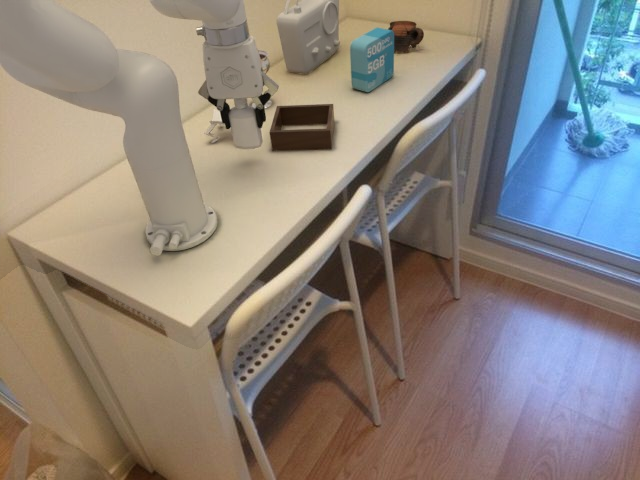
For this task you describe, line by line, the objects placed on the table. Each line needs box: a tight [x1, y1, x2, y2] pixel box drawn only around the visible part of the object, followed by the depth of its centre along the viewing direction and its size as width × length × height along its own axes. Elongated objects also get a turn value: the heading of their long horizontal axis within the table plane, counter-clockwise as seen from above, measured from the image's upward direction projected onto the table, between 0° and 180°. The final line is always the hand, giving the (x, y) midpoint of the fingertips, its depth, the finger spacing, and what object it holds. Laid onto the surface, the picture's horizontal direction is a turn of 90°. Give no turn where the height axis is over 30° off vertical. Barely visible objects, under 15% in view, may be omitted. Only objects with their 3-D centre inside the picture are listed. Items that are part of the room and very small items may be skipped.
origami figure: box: [203, 108, 225, 143], centre depth 116 cm, size 12×8×5 cm
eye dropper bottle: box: [228, 98, 264, 150], centre depth 103 cm, size 4×6×12 cm
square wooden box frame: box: [269, 103, 335, 152], centre depth 114 cm, size 12×13×4 cm
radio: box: [276, 0, 341, 75], centre depth 138 cm, size 22×8×25 cm, turn 150°
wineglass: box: [251, 49, 272, 109], centre depth 125 cm, size 7×7×12 cm
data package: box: [349, 27, 395, 93], centre depth 129 cm, size 12×4×12 cm, turn 140°
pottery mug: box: [387, 20, 425, 53], centre depth 147 cm, size 12×10×8 cm
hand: (245, 124), depth 104 cm, fingers closed on eye dropper bottle, 5 cm apart
